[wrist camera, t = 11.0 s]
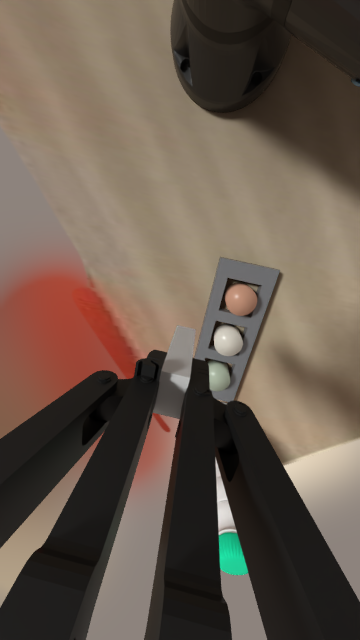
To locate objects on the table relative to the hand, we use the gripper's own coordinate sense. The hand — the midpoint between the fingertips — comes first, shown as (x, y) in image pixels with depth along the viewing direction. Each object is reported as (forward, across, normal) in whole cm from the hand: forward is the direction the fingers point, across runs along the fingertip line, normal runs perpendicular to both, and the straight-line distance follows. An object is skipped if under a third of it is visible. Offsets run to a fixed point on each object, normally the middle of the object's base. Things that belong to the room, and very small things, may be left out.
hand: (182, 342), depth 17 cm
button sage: (+24, +8, -16) cm, 30 cm away
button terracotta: (+24, +8, 0) cm, 25 cm away
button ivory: (+24, +8, -8) cm, 27 cm away
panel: (+24, +8, -8) cm, 27 cm away
